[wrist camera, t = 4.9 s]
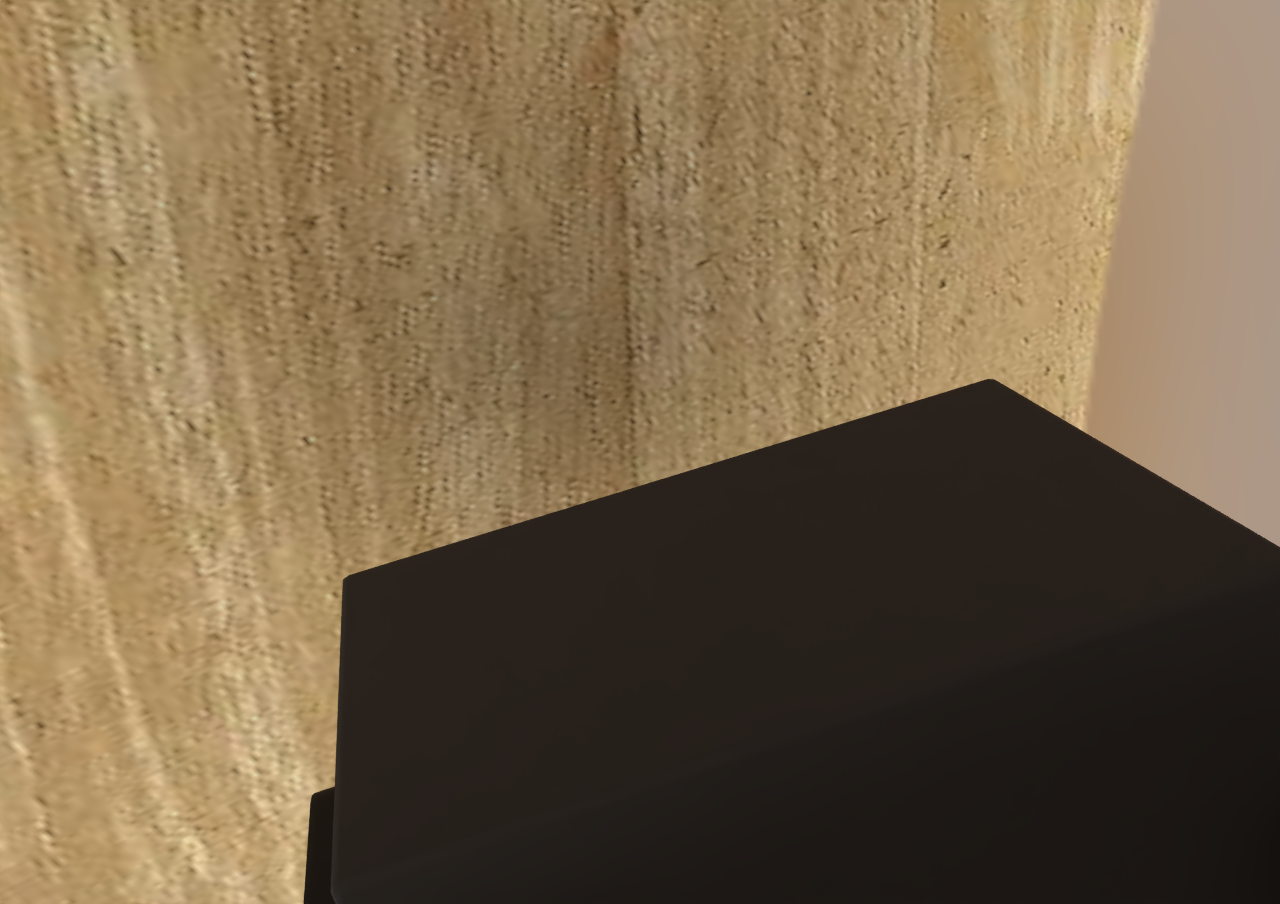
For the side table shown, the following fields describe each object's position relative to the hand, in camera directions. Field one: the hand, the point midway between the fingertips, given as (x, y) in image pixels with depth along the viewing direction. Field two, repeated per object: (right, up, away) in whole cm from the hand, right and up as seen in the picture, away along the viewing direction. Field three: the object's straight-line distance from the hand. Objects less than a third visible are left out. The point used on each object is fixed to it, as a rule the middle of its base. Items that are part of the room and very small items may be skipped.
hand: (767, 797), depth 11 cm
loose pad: (0, 0, +1) cm, 1 cm away
